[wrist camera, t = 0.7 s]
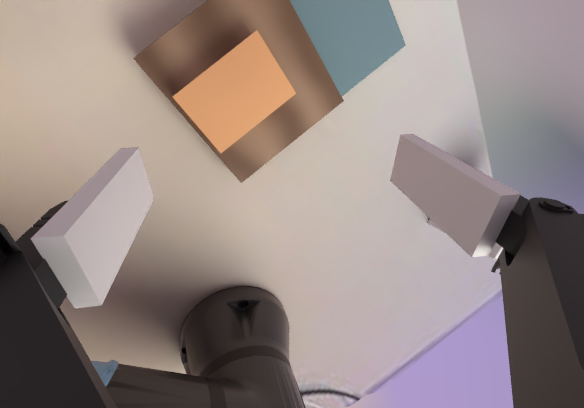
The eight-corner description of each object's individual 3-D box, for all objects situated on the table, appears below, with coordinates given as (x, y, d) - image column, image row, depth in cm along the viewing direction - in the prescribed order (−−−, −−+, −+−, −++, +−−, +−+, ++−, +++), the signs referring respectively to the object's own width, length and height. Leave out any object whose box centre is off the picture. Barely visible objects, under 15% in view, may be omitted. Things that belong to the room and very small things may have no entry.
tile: (219, 150, 27) (220, 153, 25) (174, 97, 24) (172, 96, 23) (290, 93, 27) (296, 93, 25) (253, 35, 25) (257, 29, 23)
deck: (236, 173, 32) (241, 182, 29) (142, 64, 26) (133, 58, 23) (328, 100, 33) (343, 100, 29) (256, -25, 26) (265, -45, 23)
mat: (333, 101, 33) (334, 101, 33) (257, -34, 26) (258, -36, 26) (403, 45, 33) (405, 45, 33) (346, -103, 26) (348, -106, 26)
